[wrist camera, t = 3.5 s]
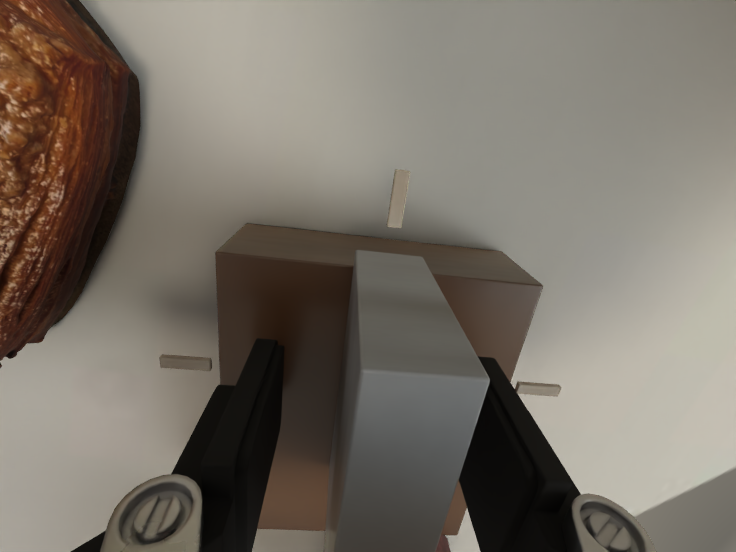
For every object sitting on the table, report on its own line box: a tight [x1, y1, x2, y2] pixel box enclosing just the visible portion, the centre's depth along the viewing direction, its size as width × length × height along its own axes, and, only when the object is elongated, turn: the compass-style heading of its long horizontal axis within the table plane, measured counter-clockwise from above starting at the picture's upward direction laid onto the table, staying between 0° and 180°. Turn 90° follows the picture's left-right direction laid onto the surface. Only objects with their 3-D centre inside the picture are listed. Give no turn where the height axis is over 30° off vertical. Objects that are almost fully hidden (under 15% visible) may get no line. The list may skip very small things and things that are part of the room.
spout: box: [324, 250, 490, 552], centre depth 8 cm, size 8×2×5 cm, turn 173°
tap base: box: [160, 169, 561, 535], centre depth 12 cm, size 14×12×3 cm
